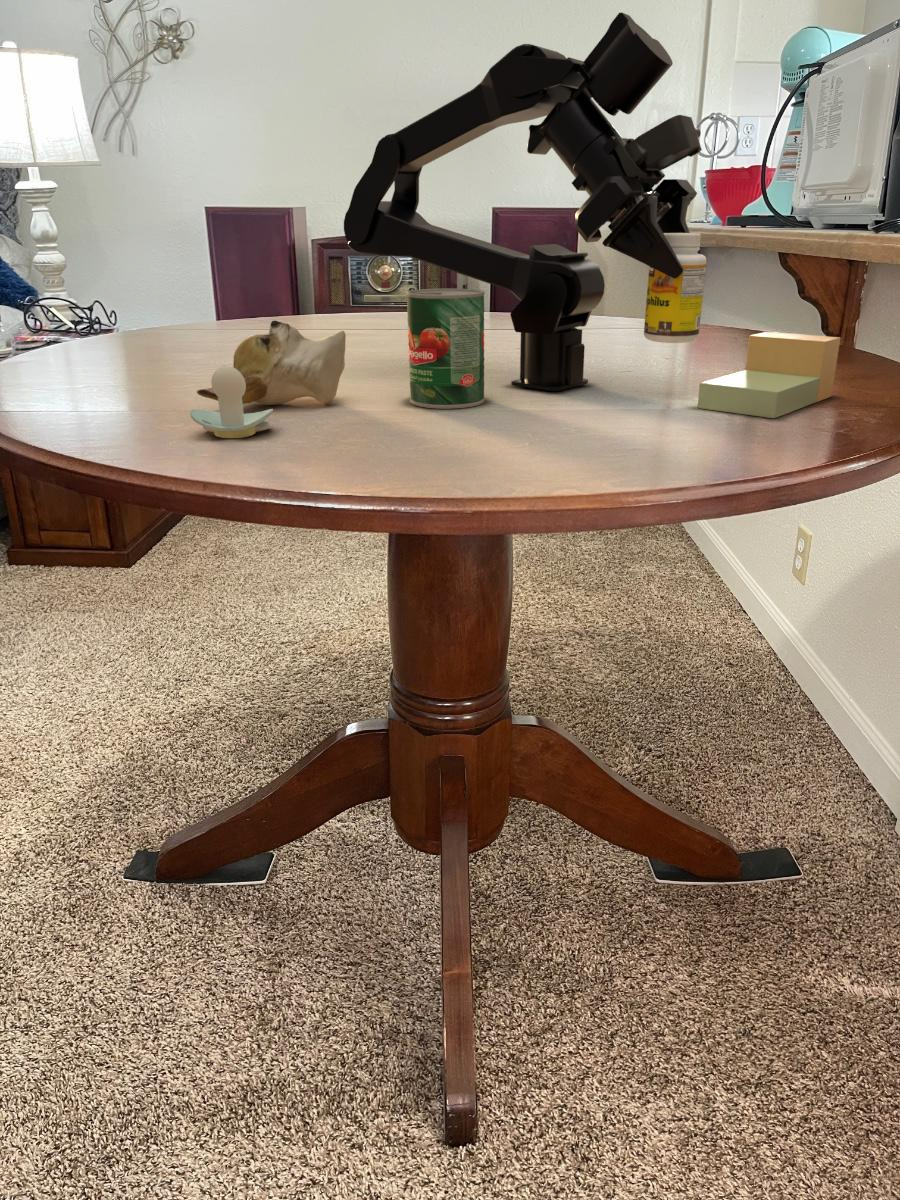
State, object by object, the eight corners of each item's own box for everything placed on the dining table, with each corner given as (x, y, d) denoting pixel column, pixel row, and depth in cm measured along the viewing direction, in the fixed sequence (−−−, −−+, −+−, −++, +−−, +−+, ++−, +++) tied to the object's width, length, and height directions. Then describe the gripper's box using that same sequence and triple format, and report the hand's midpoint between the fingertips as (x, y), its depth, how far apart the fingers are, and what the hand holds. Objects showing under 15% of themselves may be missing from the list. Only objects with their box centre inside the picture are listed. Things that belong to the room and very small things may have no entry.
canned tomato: (497, 397, 95) (498, 289, 91) (463, 411, 89) (462, 295, 84) (432, 392, 98) (430, 287, 94) (395, 405, 92) (391, 293, 88)
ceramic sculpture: (339, 320, 85) (183, 332, 85) (349, 410, 89) (200, 422, 89) (346, 310, 95) (207, 321, 95) (356, 391, 99) (221, 402, 99)
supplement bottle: (633, 338, 93) (640, 233, 89) (678, 335, 95) (688, 232, 91) (662, 345, 89) (672, 234, 84) (709, 342, 90) (721, 233, 86)
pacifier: (205, 428, 84) (187, 441, 78) (198, 360, 82) (178, 368, 76) (282, 427, 84) (270, 440, 78) (277, 359, 82) (263, 367, 76)
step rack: (697, 408, 89) (703, 346, 86) (758, 388, 98) (765, 331, 96) (774, 418, 84) (783, 353, 81) (831, 396, 93) (840, 337, 91)
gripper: (614, 73, 77) (724, 211, 76) (687, 93, 92) (780, 210, 91) (531, 175, 84) (631, 303, 83) (610, 179, 99) (697, 288, 98)
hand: (689, 273), depth 89 cm, fingers closed on supplement bottle, 5 cm apart
